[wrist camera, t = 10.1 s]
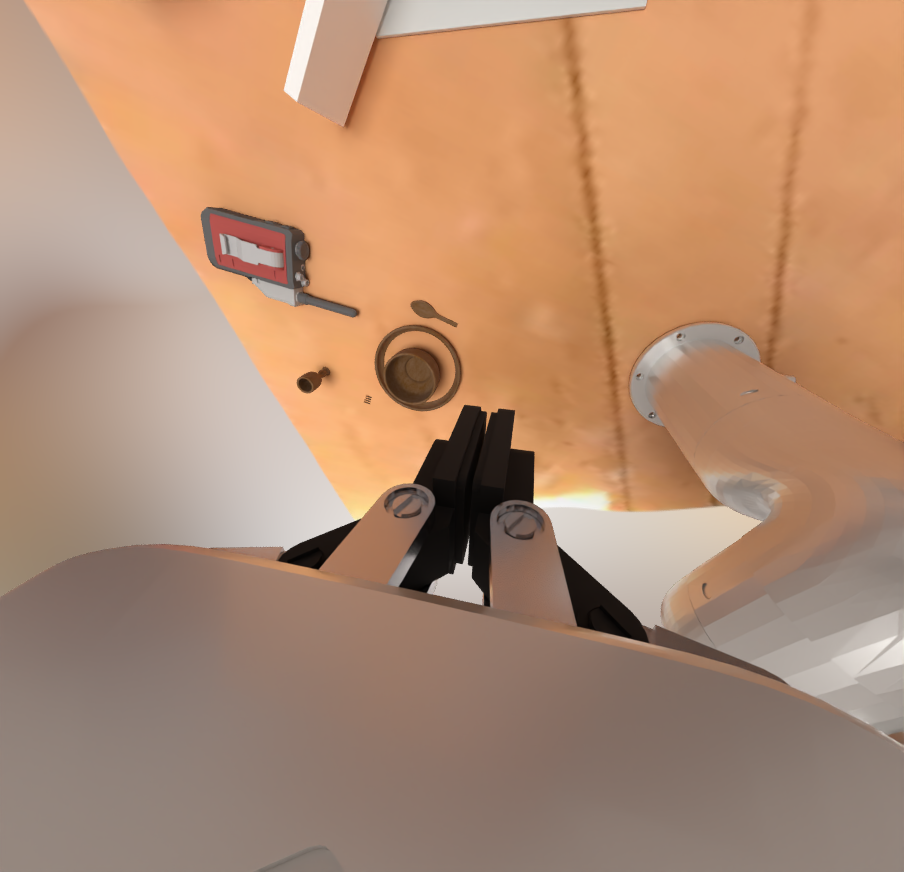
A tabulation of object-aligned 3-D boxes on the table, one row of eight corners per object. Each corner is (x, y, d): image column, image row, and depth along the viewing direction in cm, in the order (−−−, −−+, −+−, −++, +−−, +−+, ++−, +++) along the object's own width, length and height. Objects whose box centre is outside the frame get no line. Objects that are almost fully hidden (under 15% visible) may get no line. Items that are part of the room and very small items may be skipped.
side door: (344, 128, 32) (298, 102, 26) (332, 117, 32) (282, 89, 26) (409, -58, 26) (367, -153, 19) (394, -73, 25) (347, -174, 19)
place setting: (436, 433, 51) (425, 455, 46) (317, 376, 50) (293, 392, 45) (485, 329, 41) (478, 343, 36) (339, 256, 40) (312, 260, 35)
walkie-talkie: (223, 279, 45) (360, 320, 44) (195, 283, 41) (344, 328, 40) (211, 202, 40) (365, 246, 39) (178, 199, 36) (347, 247, 35)
